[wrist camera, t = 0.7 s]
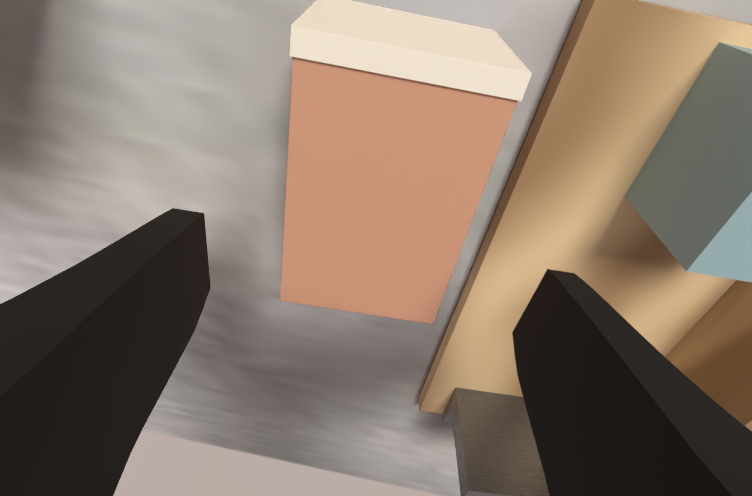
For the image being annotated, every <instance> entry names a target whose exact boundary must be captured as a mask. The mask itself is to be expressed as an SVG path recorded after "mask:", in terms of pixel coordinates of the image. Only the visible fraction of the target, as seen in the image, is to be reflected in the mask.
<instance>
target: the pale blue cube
mask: <svg viewBox="0 0 752 496" xmlns="http://www.w3.org/2000/svg"><path fill="white" fill-rule="evenodd" d="M624 197H625V198H626V199H627V200H628V202H629V203H630V204H631V205H632V206H633V208H634V209H635V210H636V211H637V212H638V214H639V215H640V216H641V217H642V218H643V220H644V221H645V222H646V223H647V225H648V226H649V227H650V228H651V229H652V231H653V232H654V233H655V234H656V235H657V237H658V238H659V239H660V240H661V241H662V243H663V244H664V245H665V246H666V248H667V249H668V250H669V251H670V252H671V254H672V255H673V256H674V257H675V258H676V260H677V261H678V262H679V263H680V265H681V266H682V267H683V268H684V269H685V271H686V272H692V273H698V274H704V275H710V276H716V277H722V278H728V279H734V280H740V281H746V282H752V49H749V48H745V47H740V46H735V45H731V44H726V43H721V42H719V43H718V45H717V47H716V48H715V50H714V51H713V53H712V55H711V56H710V58H709V59H708V61H707V63H706V64H705V66H704V68H703V69H702V71H701V72H700V74H699V76H698V77H697V79H696V81H695V82H694V84H693V85H692V87H691V89H690V90H689V92H688V94H687V95H686V97H685V98H684V100H683V102H682V103H681V105H680V107H679V108H678V110H677V111H676V113H675V115H674V116H673V118H672V120H671V121H670V123H669V124H668V126H667V128H666V129H665V131H664V133H663V134H662V136H661V137H660V139H659V141H658V142H657V144H656V146H655V147H654V149H653V150H652V152H651V154H650V155H649V157H648V159H647V160H646V162H645V163H644V165H643V167H642V168H641V170H640V171H639V173H638V175H637V176H636V178H635V180H634V181H633V183H632V184H631V186H630V188H629V189H628V191H627V193H626V194H625V196H624Z"/></svg>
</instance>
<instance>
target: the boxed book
mask: <svg viewBox="0 0 752 496" xmlns="http://www.w3.org/2000/svg"><path fill="white" fill-rule="evenodd" d="M290 56H292V57H293V66H292V85H291V104H290V123H289V142H288V161H287V180H286V199H285V218H284V237H283V256H282V275H281V294H280V301H285V302H292V303H298V304H305V305H312V306H318V307H325V308H331V309H338V310H344V311H351V312H358V313H364V314H371V315H377V316H384V317H390V318H397V319H404V320H410V321H417V322H423V323H430V324H433V322H434V320H435V317H436V314H437V312H438V309H439V307H440V304H441V301H442V299H443V296H444V293H445V291H446V288H447V285H448V283H449V280H450V278H451V275H452V272H453V270H454V267H455V264H456V262H457V259H458V256H459V254H460V251H461V248H462V246H463V243H464V241H465V238H466V235H467V233H468V230H469V227H470V225H471V222H472V219H473V217H474V214H475V212H476V209H477V206H478V204H479V201H480V198H481V196H482V193H483V190H484V188H485V185H486V183H487V180H488V177H489V175H490V172H491V169H492V167H493V164H494V161H495V159H496V156H497V153H498V151H499V148H500V146H501V143H502V140H503V138H504V135H505V132H506V130H507V127H508V124H509V122H510V119H511V117H512V114H513V111H514V109H515V106H516V103H517V101H522V98H523V95H524V93H525V90H526V88H527V85H528V82H529V80H530V77H531V75H532V73H531V72H530V70H529V69H528V68H527V67H526V66H525V65H524V64H523V62H522V61H521V60H520V59H519V58H518V57H517V56H516V54H515V53H514V52H513V51H512V50H511V49H510V48H509V47H508V45H507V44H506V43H505V42H504V41H503V40H502V39H501V37H500V36H499V35H498V34H497V33H496V32H495V31H494V30H491V29H486V28H481V27H476V26H471V25H467V24H462V23H457V22H452V21H447V20H442V19H438V18H433V17H428V16H423V15H418V14H413V13H408V12H404V11H399V10H394V9H389V8H384V7H379V6H375V5H370V4H365V3H360V2H355V1H350V0H316V1H315V2H314V3H313V4H312V5H311V6H310V7H309V8H308V9H307V10H306V11H305V12H304V13H303V14H302V15H301V16H300V17H299V18H298V19H297V20H296V21H295V22H294V23H293V24H292V25H291V41H290Z"/></svg>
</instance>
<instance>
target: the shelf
mask: <svg viewBox="0 0 752 496" xmlns="http://www.w3.org/2000/svg"><path fill="white" fill-rule="evenodd" d="M719 42H721V43H726V44H731V45H735V46H740V47H745V48H749V49H752V25H749V24H744V23H740V22H735V21H731V20H726V19H721V18H717V17H712V16H708V15H703V14H698V13H694V12H689V11H684V10H680V9H675V8H671V7H666V6H661V5H657V4H652V3H648V2H643V1H638V0H582V3H581V5H580V8H579V10H578V12H577V15H576V17H575V20H574V22H573V25H572V27H571V29H570V32H569V34H568V37H567V39H566V42H565V44H564V46H563V49H562V51H561V54H560V56H559V59H558V61H557V63H556V66H555V68H554V71H553V73H552V76H551V78H550V80H549V83H548V85H547V88H546V90H545V93H544V95H543V97H542V100H541V102H540V105H539V107H538V110H537V112H536V114H535V117H534V119H533V122H532V124H531V126H530V129H529V131H528V134H527V136H526V139H525V141H524V143H523V146H522V148H521V151H520V153H519V156H518V158H517V160H516V163H515V165H514V168H513V170H512V173H511V175H510V177H509V180H508V182H507V185H506V187H505V190H504V192H503V194H502V197H501V199H500V202H499V204H498V207H497V209H496V211H495V214H494V216H493V219H492V221H491V224H490V226H489V228H488V231H487V233H486V236H485V238H484V241H483V243H482V245H481V248H480V250H479V253H478V255H477V258H476V260H475V262H474V265H473V267H472V270H471V272H470V275H469V277H468V279H467V282H466V284H465V287H464V289H463V292H462V294H461V296H460V299H459V301H458V304H457V306H456V308H455V311H454V313H453V316H452V318H451V321H450V323H449V325H448V328H447V330H446V333H445V335H444V338H443V340H442V342H441V345H440V347H439V350H438V352H437V355H436V357H435V359H434V362H433V364H432V367H431V369H430V372H429V374H428V376H427V379H426V381H425V384H424V386H423V389H422V391H421V393H420V396H419V411H425V412H433V413H440V414H443V412H444V410H445V408H446V406H447V404H448V402H449V400H450V398H451V396H452V393H453V391H454V389H455V387H457V388H464V389H471V390H478V391H485V392H492V393H499V394H506V395H514V396H521V397H523V394H522V391H521V387H520V383H519V379H518V375H517V368H516V361H515V353H514V344H513V335H512V332H513V330H514V328H515V327H516V325H517V323H518V321H519V319H520V318H521V316H522V314H523V312H524V310H525V309H526V307H527V305H528V303H529V301H530V300H531V298H532V296H533V294H534V292H535V291H536V289H537V287H538V285H539V283H540V282H541V280H542V278H543V276H544V274H545V273H546V271H547V269H551V270H557V271H563V272H570V273H575V274H576V275H577V276H579V277H580V278H581V279H582V280H584V281H585V282H586V283H587V284H588V285H589V286H590V287H591V288H593V289H594V290H595V291H596V292H597V293H598V294H599V295H600V296H601V297H602V298H603V299H604V300H605V301H606V302H608V303H609V304H610V305H611V306H612V307H613V308H614V309H615V310H616V311H617V312H618V313H619V314H620V315H621V316H622V317H623V318H624V319H625V320H626V321H627V322H628V323H629V324H630V325H632V326H633V327H634V328H635V329H636V330H637V331H638V332H639V333H640V334H641V335H642V336H643V337H644V338H645V339H646V340H647V341H648V342H649V343H650V344H652V345H653V346H654V347H655V348H656V349H657V350H658V351H659V352H660V353H661V354H662V355H663V356H664V357H665V358H667V359H668V360H669V361H670V362H671V363H672V364H673V365H674V366H675V367H676V368H678V369H679V370H680V371H681V372H682V373H683V374H684V375H685V376H686V377H688V378H689V379H690V380H691V381H692V382H693V383H694V384H696V385H697V386H698V387H699V388H700V389H701V390H702V391H704V392H705V393H706V394H707V395H708V396H709V397H711V398H712V399H713V400H714V401H715V402H716V403H717V404H719V405H720V406H721V407H722V408H723V409H725V410H726V411H727V412H728V413H729V414H731V415H732V416H733V417H734V418H736V419H737V420H738V421H739V422H740V423H742V424H743V425H744V426H746V427H747V428H748V429H749V430H751V431H752V282H746V281H740V280H734V279H728V278H722V277H716V276H710V275H704V274H698V273H692V272H686V271H685V269H684V268H683V267H682V266H681V265H680V263H679V262H678V261H677V260H676V258H675V257H674V256H673V255H672V254H671V252H670V251H669V250H668V249H667V248H666V246H665V245H664V244H663V243H662V241H661V240H660V239H659V238H658V237H657V235H656V234H655V233H654V232H653V231H652V229H651V228H650V227H649V226H648V225H647V223H646V222H645V221H644V220H643V218H642V217H641V216H640V215H639V214H638V212H637V211H636V210H635V209H634V208H633V206H632V205H631V204H630V203H629V202H628V200H627V199H626V198H625V197H624V196H625V194H626V193H627V191H628V189H629V188H630V186H631V184H632V183H633V181H634V180H635V178H636V176H637V175H638V173H639V171H640V170H641V168H642V167H643V165H644V163H645V162H646V160H647V159H648V157H649V155H650V154H651V152H652V150H653V149H654V147H655V146H656V144H657V142H658V141H659V139H660V137H661V136H662V134H663V133H664V131H665V129H666V128H667V126H668V124H669V123H670V121H671V120H672V118H673V116H674V115H675V113H676V111H677V110H678V108H679V107H680V105H681V103H682V102H683V100H684V98H685V97H686V95H687V94H688V92H689V90H690V89H691V87H692V85H693V84H694V82H695V81H696V79H697V77H698V76H699V74H700V72H701V71H702V69H703V68H704V66H705V64H706V63H707V61H708V59H709V58H710V56H711V55H712V53H713V51H714V50H715V48H716V47H717V45H718V43H719Z"/></svg>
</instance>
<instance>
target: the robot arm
mask: <svg viewBox="0 0 752 496" xmlns="http://www.w3.org/2000/svg"><path fill="white" fill-rule="evenodd" d="M209 290H210V278H209V266H208V254H207V243H206V231H205V219H204V213H199V212H192V211H186V210H180V209H174V208H173V209H171V210H169V211H167V212H165V213H163V214H162V215H160V216H158V217H156V218H155V219H153V220H151V221H150V222H148V223H146V224H145V225H143V226H141V227H140V228H138V229H136V230H135V231H133V232H131V233H130V234H128V235H126V236H125V237H123V238H121V239H120V240H118V241H116V242H114V243H113V244H111V245H109V246H107V247H106V248H104V249H102V250H101V251H99V252H97V253H95V254H94V255H92V256H90V257H89V258H87V259H85V260H83V261H82V262H80V263H78V264H76V265H75V266H73V267H71V268H69V269H67V270H65V271H63V272H61V273H59V274H58V275H56V276H54V277H52V278H50V279H48V280H46V281H44V282H42V283H41V284H39V285H37V286H35V287H33V288H31V289H29V290H27V291H25V292H24V293H22V294H20V295H18V296H16V297H14V298H12V299H10V300H8V301H6V302H4V303H2V304H0V496H113V494H114V492H115V489H116V487H117V485H118V482H119V480H120V477H121V475H122V472H123V470H124V468H125V465H126V463H127V461H128V458H129V456H130V453H131V451H132V449H133V447H134V445H135V443H136V441H137V439H138V437H139V435H140V433H141V431H142V429H143V427H144V425H145V423H146V421H147V419H148V417H149V415H150V414H151V412H152V410H153V408H154V406H155V404H156V402H157V400H158V399H159V397H160V395H161V393H162V391H163V389H164V387H165V385H166V384H167V382H168V380H169V378H170V376H171V374H172V372H173V370H174V369H175V367H176V365H177V363H178V361H179V359H180V357H181V355H182V353H183V352H184V350H185V348H186V346H187V344H188V342H189V340H190V338H191V336H192V334H193V332H194V330H195V328H196V325H197V323H198V320H199V317H200V315H201V312H202V310H203V307H204V304H205V301H206V298H207V296H208V293H209ZM512 335H513V344H514V353H515V361H516V368H517V375H518V379H519V383H520V387H521V391H522V394H523V398H524V402H525V406H526V410H527V413H528V417H529V420H530V424H531V428H532V431H533V435H534V439H535V442H536V446H537V450H538V453H539V457H540V460H541V464H542V468H543V471H544V475H545V479H546V483H547V487H548V492H549V496H752V431H751V430H749V429H748V428H747V427H746V426H744V425H743V424H742V423H740V422H739V421H738V420H737V419H736V418H734V417H733V416H732V415H731V414H729V413H728V412H727V411H726V410H725V409H723V408H722V407H721V406H720V405H719V404H717V403H716V402H715V401H714V400H713V399H712V398H711V397H709V396H708V395H707V394H706V393H705V392H704V391H702V390H701V389H700V388H699V387H698V386H697V385H696V384H694V383H693V382H692V381H691V380H690V379H689V378H688V377H686V376H685V375H684V374H683V373H682V372H681V371H680V370H679V369H678V368H676V367H675V366H674V365H673V364H672V363H671V362H670V361H669V360H668V359H667V358H665V357H664V356H663V355H662V354H661V353H660V352H659V351H658V350H657V349H656V348H655V347H654V346H653V345H652V344H650V343H649V342H648V341H647V340H646V339H645V338H644V337H643V336H642V335H641V334H640V333H639V332H638V331H637V330H636V329H635V328H634V327H633V326H632V325H630V324H629V323H628V322H627V321H626V320H625V319H624V318H623V317H622V316H621V315H620V314H619V313H618V312H617V311H616V310H615V309H614V308H613V307H612V306H611V305H610V304H609V303H608V302H606V301H605V300H604V299H603V298H602V297H601V296H600V295H599V294H598V293H597V292H596V291H595V290H594V289H593V288H591V287H590V286H589V285H588V284H587V283H586V282H585V281H584V280H582V279H581V278H580V277H579V276H577V275H576V274H575V273H570V272H563V271H557V270H551V269H547V271H546V273H545V274H544V276H543V278H542V280H541V282H540V283H539V285H538V287H537V289H536V291H535V292H534V294H533V296H532V298H531V300H530V301H529V303H528V305H527V307H526V309H525V310H524V312H523V314H522V316H521V318H520V319H519V321H518V323H517V325H516V327H515V328H514V330H513V332H512Z"/></svg>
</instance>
